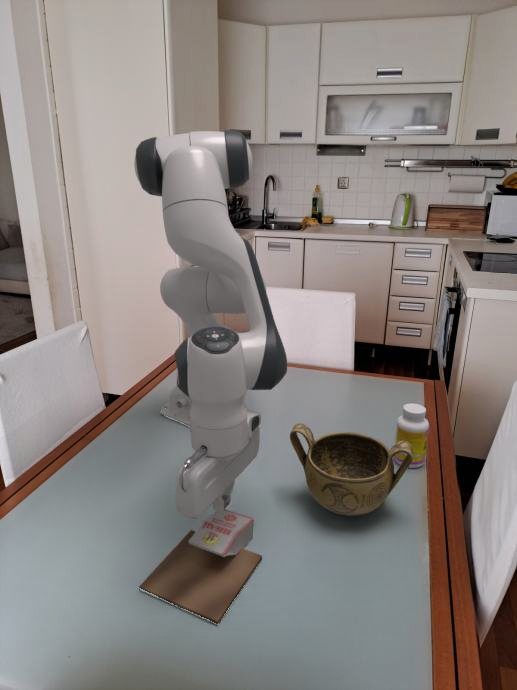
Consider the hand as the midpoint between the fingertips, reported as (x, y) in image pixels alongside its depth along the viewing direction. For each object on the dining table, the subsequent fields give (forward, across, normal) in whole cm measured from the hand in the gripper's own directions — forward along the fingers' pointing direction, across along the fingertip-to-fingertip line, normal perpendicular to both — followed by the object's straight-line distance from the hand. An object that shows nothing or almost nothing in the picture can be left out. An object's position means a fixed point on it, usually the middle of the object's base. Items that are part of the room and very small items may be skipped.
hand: (222, 506), depth 81 cm
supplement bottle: (+9, +41, -23) cm, 48 cm away
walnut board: (+8, -6, 0) cm, 11 cm away
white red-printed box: (+7, +5, 0) cm, 8 cm away
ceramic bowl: (+9, +21, -15) cm, 27 cm away
